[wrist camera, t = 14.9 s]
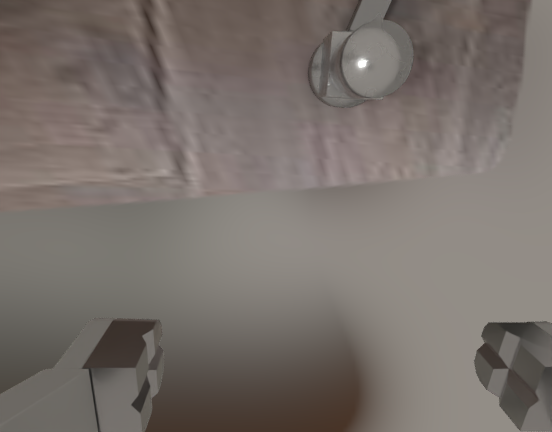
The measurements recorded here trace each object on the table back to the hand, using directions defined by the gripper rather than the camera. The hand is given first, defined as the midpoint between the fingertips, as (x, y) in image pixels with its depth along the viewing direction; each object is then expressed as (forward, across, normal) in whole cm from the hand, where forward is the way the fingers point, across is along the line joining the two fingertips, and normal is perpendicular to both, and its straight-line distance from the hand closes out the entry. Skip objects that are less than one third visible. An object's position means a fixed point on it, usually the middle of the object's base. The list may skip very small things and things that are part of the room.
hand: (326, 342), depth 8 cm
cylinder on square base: (+29, -7, -9) cm, 31 cm away
